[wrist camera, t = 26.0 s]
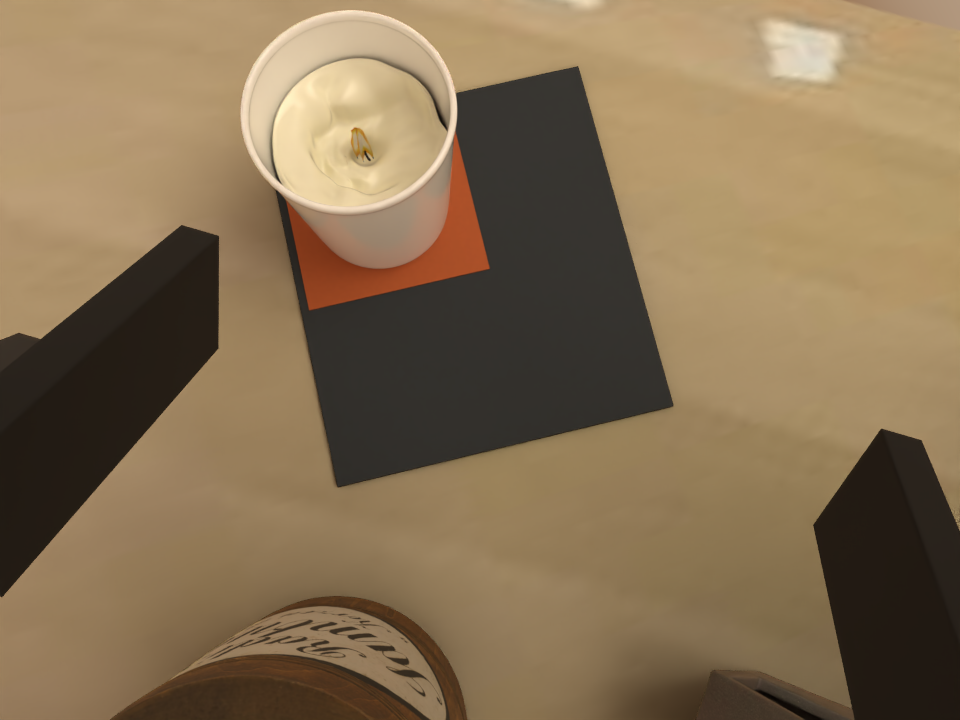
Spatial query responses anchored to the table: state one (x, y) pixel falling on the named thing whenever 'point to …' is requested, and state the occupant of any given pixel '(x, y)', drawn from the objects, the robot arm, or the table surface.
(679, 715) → the table surface
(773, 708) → the planter
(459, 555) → the table surface
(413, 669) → the wooden container
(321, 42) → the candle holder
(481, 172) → the desk mat
